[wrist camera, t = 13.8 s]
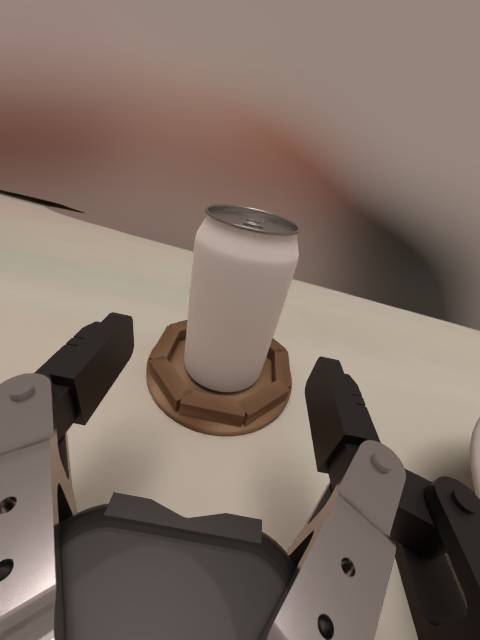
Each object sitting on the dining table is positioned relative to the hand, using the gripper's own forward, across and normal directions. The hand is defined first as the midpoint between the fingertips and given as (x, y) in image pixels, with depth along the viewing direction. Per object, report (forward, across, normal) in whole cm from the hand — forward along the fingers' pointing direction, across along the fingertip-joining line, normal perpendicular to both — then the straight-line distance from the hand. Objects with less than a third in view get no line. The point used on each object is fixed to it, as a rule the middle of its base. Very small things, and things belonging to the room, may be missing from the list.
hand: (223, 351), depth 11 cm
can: (+7, 0, +8) cm, 11 cm away
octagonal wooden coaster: (+7, 0, +8) cm, 11 cm away
